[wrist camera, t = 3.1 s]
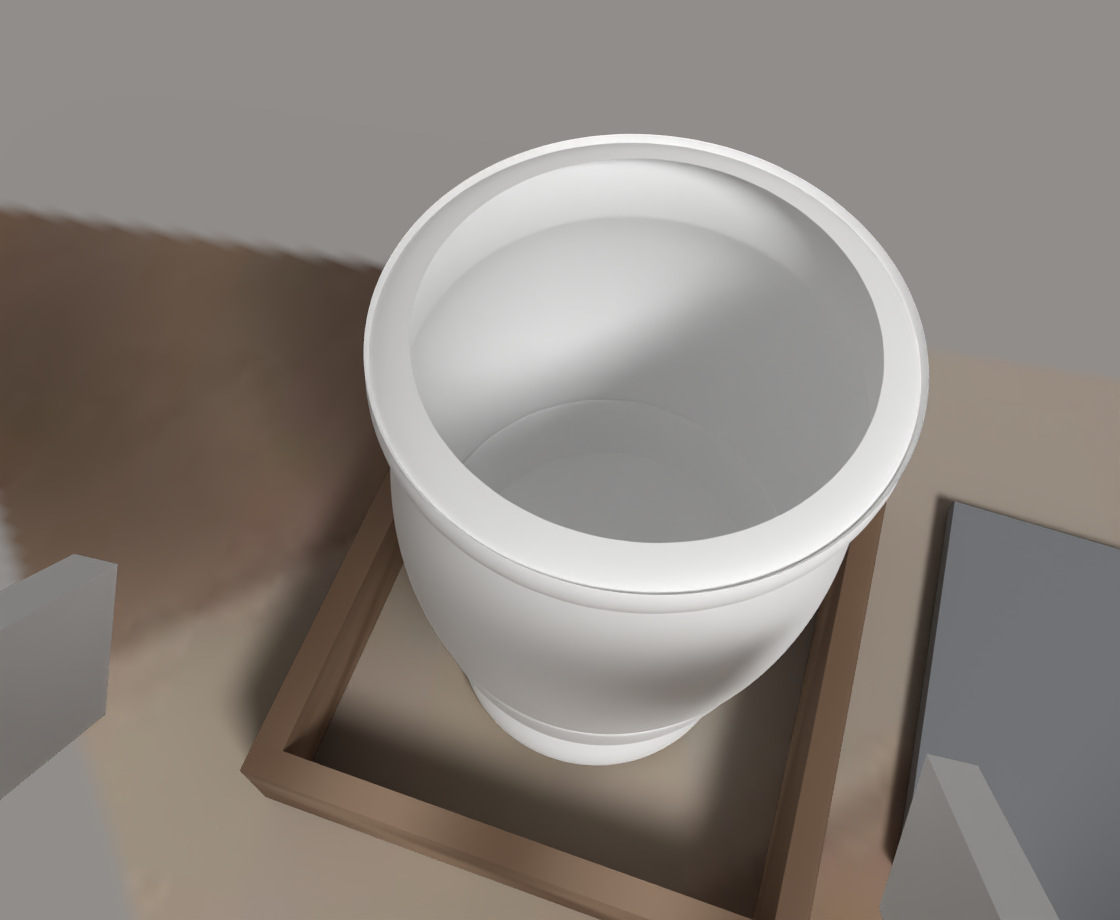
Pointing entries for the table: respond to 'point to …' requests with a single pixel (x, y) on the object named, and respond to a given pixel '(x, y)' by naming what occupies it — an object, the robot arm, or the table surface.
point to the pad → (1032, 695)
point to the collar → (616, 898)
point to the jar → (634, 426)
